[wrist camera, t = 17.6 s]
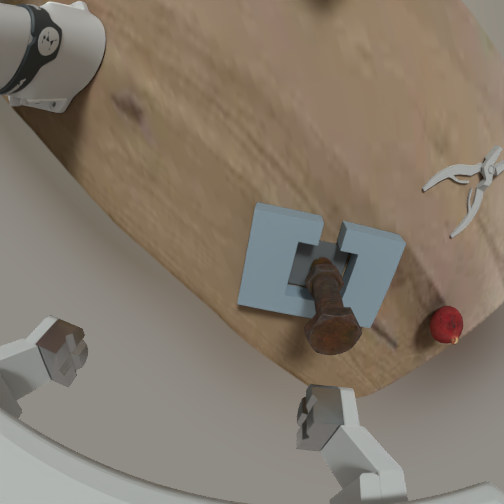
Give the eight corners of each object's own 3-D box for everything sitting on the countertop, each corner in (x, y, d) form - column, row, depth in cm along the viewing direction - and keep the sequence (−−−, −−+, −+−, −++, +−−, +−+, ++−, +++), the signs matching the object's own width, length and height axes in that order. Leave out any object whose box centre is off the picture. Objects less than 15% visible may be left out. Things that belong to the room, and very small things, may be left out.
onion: (426, 299, 42) (445, 330, 35) (455, 294, 41) (476, 323, 34) (421, 327, 44) (436, 359, 37) (448, 322, 43) (466, 351, 36)
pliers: (424, 188, 34) (491, 126, 29) (420, 186, 35) (485, 125, 30) (455, 241, 36) (516, 181, 31) (450, 237, 38) (510, 179, 32)
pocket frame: (240, 292, 45) (237, 304, 42) (257, 202, 39) (254, 208, 36) (366, 316, 44) (370, 327, 42) (398, 234, 38) (406, 243, 36)
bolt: (343, 249, 40) (367, 316, 26) (339, 281, 42) (358, 354, 29) (301, 248, 41) (306, 316, 27) (299, 281, 43) (302, 355, 29)
